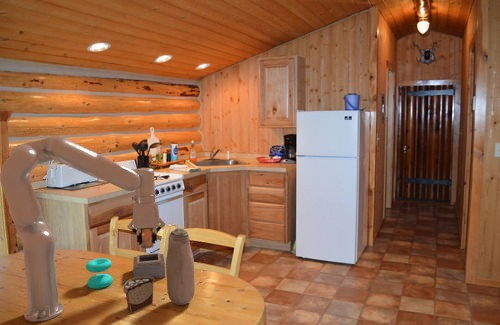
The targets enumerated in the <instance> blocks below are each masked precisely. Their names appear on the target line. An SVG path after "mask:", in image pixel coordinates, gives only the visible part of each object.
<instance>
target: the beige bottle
mask: <svg viewBox="0 0 500 325" xmlns="http://www.w3.org/2000/svg"><path fill="white" fill-rule="evenodd" d="M167 242H168V245H167V252H166V258H165V277H166V289H167V290H166V291H167V295H168V298H169V300H170V301H171V302H172V303H173V304H174V305H177V306H185V305H187V304H189V303H190V302H191V301H192V299H193V298H194V296H195V288H196V287H195V285H196V284H195V282H196V281H195V259H194V254H193V251H192V247H191V242H190V236H189V233H188V231H187V230H186V229H184V228H175V229H173V230H171V232H170V233H169V236H168V241H167Z"/></svg>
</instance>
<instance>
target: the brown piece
mask: <svg viewBox="0 0 500 325" xmlns="http://www.w3.org/2000/svg"><path fill="white" fill-rule="evenodd" d="M155 280H156V279H154V277H150V276H140V277H135V278H134V277H132V278H130V279H128V280H126V281H125V283H124V285H123V289H122V290H123V293H124V294H125V297H126V298H125V299H126V303H127V309H128V310H127V311H128V313H129V314H131V315H132V314H134V313H136V312H138V311H141V310H143V309H145V308H146V307H149V306H151V305H153V303H154V283H156V281H155ZM144 307H145V308H144ZM142 308H143V309H142Z"/></svg>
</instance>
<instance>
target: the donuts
mask: <svg viewBox="0 0 500 325" xmlns="http://www.w3.org/2000/svg"><path fill="white" fill-rule="evenodd" d="M112 265H113V264H112V260H110V259H109V258H105V257H101V258H95V259H91V260H89V261H88V262H87V263H86V264H85V269H86V270H87V271H88V272H90V273H94V275H91V276H90V277H89V278H88V279H87V282H86V285H87V287H89V289H92V290H93V289H94V290H98V289H103V288H107V287H109V286H110V285H111V284H112V283H113V280H114V278H113V277H112V276H111V275H110V274H108V273H103V272H105V271H108V270H109V269H110V268H111V267H112ZM96 273H97V274H96Z"/></svg>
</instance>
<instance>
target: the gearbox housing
mask: <svg viewBox="0 0 500 325" xmlns="http://www.w3.org/2000/svg"><path fill="white" fill-rule="evenodd" d="M132 268H133V272H132V273H133V278H135V277H140V276H150V277H154V280H156V279H163V278H165V279H166V261H165V257H164V253H160V252H156V253H144V254H137V256H133V266H132Z"/></svg>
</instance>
